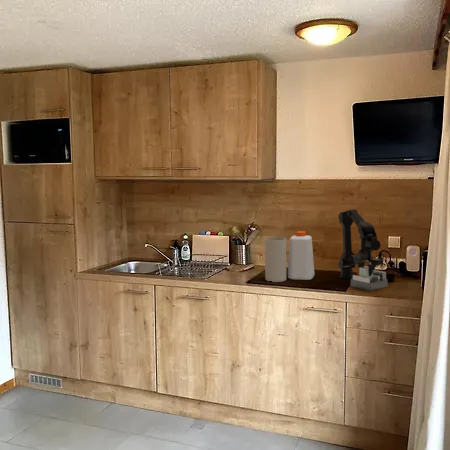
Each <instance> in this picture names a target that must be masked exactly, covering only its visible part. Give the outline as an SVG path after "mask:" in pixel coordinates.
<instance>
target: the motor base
mask: <svg viewBox="0 0 450 450" xmlns="http://www.w3.org/2000/svg"><path fill="white" fill-rule="evenodd" d="M350 287H354V288H358V289H362V290H365V291H371V292H372V291H375V290H379V289H380V290H381V289H383V288H387V287H388V279H387V272H386V271H382V270H376V269H374V271H373V278H372V279H370V278H367V277H362V276H359V275H357V274H353V278H350Z"/></svg>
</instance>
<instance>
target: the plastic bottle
mask: <svg viewBox="0 0 450 450" xmlns="http://www.w3.org/2000/svg"><path fill="white" fill-rule="evenodd" d="M312 238H313V237H312V236H311V235H307V231H304V230H301V231H299V230H298V231H296V232H295V235H292V236H291V237H290V238H289V246H288V247H289V248H288V265H287V266H288V267H287V278H288V279H290V280H295V281H296V280H297V281H309V280H312V279H313V278H314V277H315V264H314V250H313V239H312Z"/></svg>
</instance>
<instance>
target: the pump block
mask: <svg viewBox="0 0 450 450" xmlns="http://www.w3.org/2000/svg"><path fill="white" fill-rule="evenodd" d="M358 269H359V270H358V271H359V273H358V274H359V275H358V276H362V277H367V278H370V279H372V278H373V273H372V275H371V276H369V267H368V265H367V266H366V265H364V267H358Z"/></svg>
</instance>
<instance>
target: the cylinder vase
mask: <svg viewBox="0 0 450 450" xmlns="http://www.w3.org/2000/svg"><path fill="white" fill-rule="evenodd" d="M264 270H265V271H264V275H265V278H264V279H265V281H267V282H269V281H272V282H271V283H282V282H285V281H286V280H287V239H286V237H282V236H271V237H270V236H269V237H266V238H265V237H264Z"/></svg>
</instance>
